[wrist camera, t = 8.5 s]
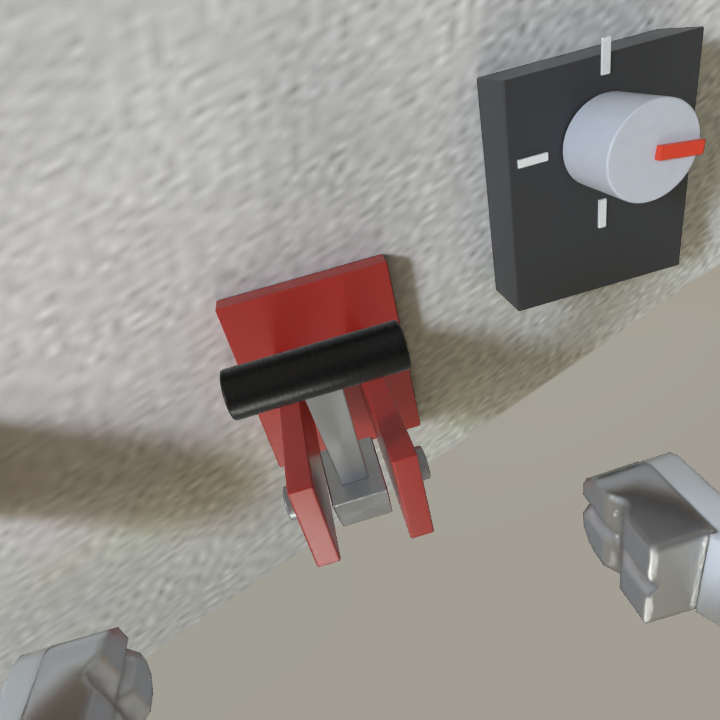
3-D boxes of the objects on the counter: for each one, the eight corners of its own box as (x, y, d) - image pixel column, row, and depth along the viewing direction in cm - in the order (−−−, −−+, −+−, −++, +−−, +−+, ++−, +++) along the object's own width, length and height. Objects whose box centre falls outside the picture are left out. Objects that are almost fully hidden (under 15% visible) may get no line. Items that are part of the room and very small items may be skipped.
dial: (558, 191, 25) (604, 212, 22) (566, 97, 23) (619, 104, 20) (636, 179, 25) (694, 197, 22) (652, 85, 23) (717, 90, 20)
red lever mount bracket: (216, 300, 28) (199, 442, 17) (381, 253, 28) (458, 365, 18) (278, 455, 33) (293, 628, 23) (415, 414, 34) (487, 567, 24)
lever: (214, 346, 15) (224, 421, 13) (388, 296, 15) (415, 365, 13) (300, 484, 24) (311, 537, 22) (406, 452, 24) (423, 502, 23)
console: (474, 63, 24) (503, 64, 22) (658, 14, 25) (709, 9, 22) (495, 290, 30) (520, 313, 28) (642, 247, 31) (681, 266, 28)
